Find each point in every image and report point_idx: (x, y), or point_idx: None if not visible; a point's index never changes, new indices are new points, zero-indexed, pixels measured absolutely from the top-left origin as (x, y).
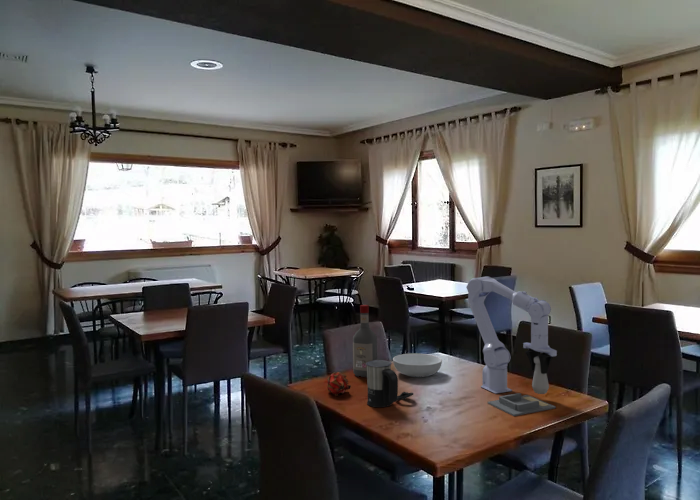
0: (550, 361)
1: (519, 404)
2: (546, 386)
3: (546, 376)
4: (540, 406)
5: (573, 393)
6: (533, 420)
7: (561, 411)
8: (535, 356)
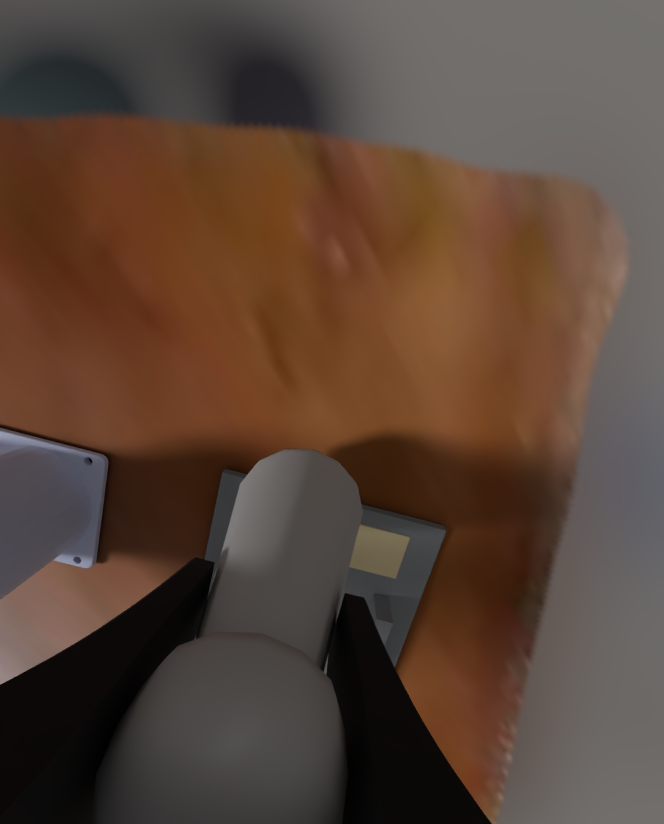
0: (451, 776)
1: None
2: (359, 525)
3: (344, 547)
4: (389, 585)
5: (379, 176)
6: (451, 721)
7: (488, 544)
8: (74, 812)
